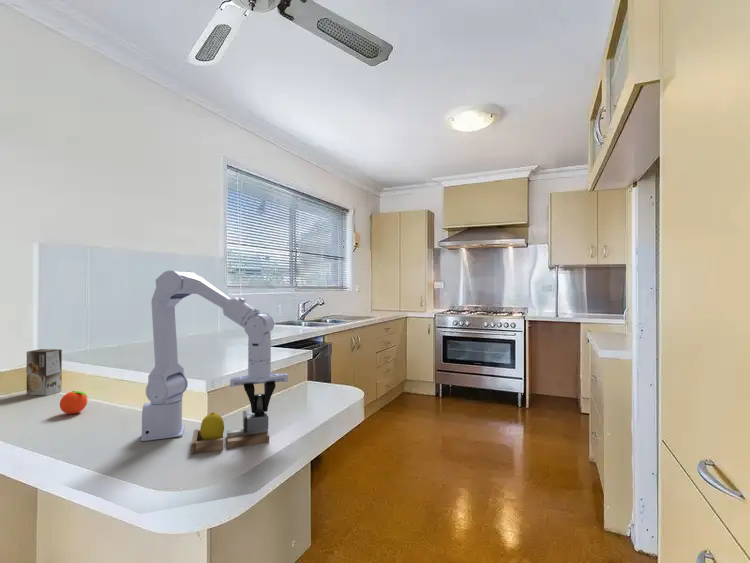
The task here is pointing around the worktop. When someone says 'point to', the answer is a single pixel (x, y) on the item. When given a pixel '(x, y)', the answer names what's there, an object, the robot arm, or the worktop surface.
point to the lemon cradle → (205, 444)
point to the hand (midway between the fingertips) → (259, 411)
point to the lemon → (212, 427)
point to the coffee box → (44, 371)
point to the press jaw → (256, 416)
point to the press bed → (246, 437)
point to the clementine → (73, 402)
